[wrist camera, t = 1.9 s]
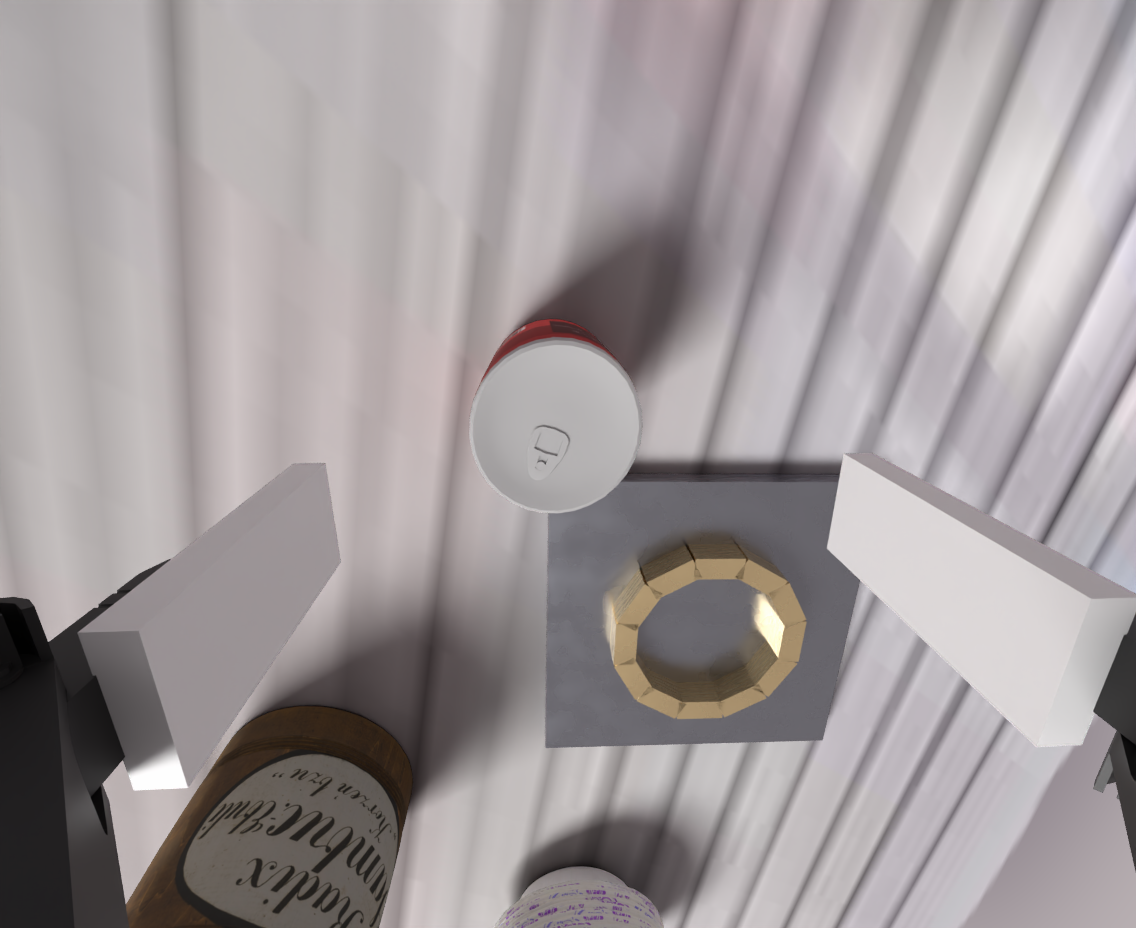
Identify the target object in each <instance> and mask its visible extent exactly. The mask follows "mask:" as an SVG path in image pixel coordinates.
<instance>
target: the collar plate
mask: <svg viewBox="0 0 1136 928" xmlns="http://www.w3.org/2000/svg"><path fill="white" fill-rule="evenodd" d="M839 477H840V474H626V476H625V477H624V478H623V479H622V480H621V482H620V483H619V484H618V485H617V486H616V487H615V488H614V489H613V490H612V491H611V492H609V493H608V494H607V495H606V496H605V497H603V498H602V499H600V500H598V501H596V502H595V503H593V504H591V505H589V506H587V507H584V508H581V509H578V510H575V511H570V512H564V513H548V569H547V641H546V714H545V744H546V748H558V747H594V746H631V745H667V744H703V743H739V742H775V741H811V740H823V736H824V732H825V727H826V723H827V719H828V715H829V710H830V706H831V702H832V698H833V693H834V689H835V685H836V681H837V676H838V672H839V668H840V663H841V659H842V655H843V651H844V646H845V642H846V638H847V634H848V629H849V625H850V621H851V617H852V612H853V608H854V604H855V599H856V595H857V591H858V587H859V582H860V579H858V578H857V577H856V576H855V575H854V574H853V573H852V572H851V571H850V570H849V569H848V568H847V567H846V566H845V565H844V564H843V563H842V562H841V561H839V560H838V559H837V558H836V557H835V556H834V555H833V554H832V553H831V552H830V551H829V550H828V549H827V545H828V539H829V534H830V528H831V522H832V517H833V511H834V506H835V500H836V494H837V489H838V483H839Z"/></svg>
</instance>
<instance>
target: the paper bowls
mask: <svg viewBox="0 0 1136 928" xmlns="http://www.w3.org/2000/svg"><path fill="white" fill-rule="evenodd" d="M494 928H664V926H663V923H662V920H661V917H660V914H659V912H658V910H657V908H656V907H655V906H654V904H652V902H651V901H650V900H649V899H648V898H647V897H646V896H645V895H643V894H641V893H640V892H638V891H636V890H635V889H632V888H629V887H627V886H626V884H625V883H624V882H623V881H622V880H620V879H619V878H618V877H616V876H615V875H613V874H611V873H609V872H607V871H604V870H602V869H598V868H593V867H585V866H578V867H567V868H563V869H559V870H556V871H553V872H550V873H548V874H546V875H544V876H542V877H540V878H539V879H537V880H536V881H535V882H533V883H532V884H531V885H530V886H529V887H528V888H527V889H526V891H525V892H524V893H523V895H522V897H521V898H520V900H519V901H518V902H516V903H515V904H514V905H512V906H511V907H510V908H509V909H508V910H506V911H505V912H504V914H503V915H502V916H501V918H500V919H499V920H498V922H497V923H496V925H495V927H494Z"/></svg>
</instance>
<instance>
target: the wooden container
mask: <svg viewBox="0 0 1136 928" xmlns="http://www.w3.org/2000/svg"><path fill="white" fill-rule="evenodd" d="M412 784H413V778H412V771H411V766H410V763H409V760H408V758H407V756H406V754H405V753H404V751H403V750H402V748H401V747H400V745H399V744H398V743H397V742H396V740H395V739H394V738H393V737H392V736H391V735H390V734H388V733H387V732H386V731H385V730H384V729H382V728H381V727H379V726H378V725H376V724H374V723H373V722H371V721H369V720H368V719H366V718H363V717H361V716H359V715H356V714H353V713H350V712H347V711H343V710H339V709H334V708H329V707H319V706H297V707H289V708H284V709H280V710H276V711H272V712H269V713H267V714H264V715H262V716H260V717H258V718H256V719H254V720H252V721H251V722H249V723H248V724H247V725H245V726H244V727H243V728H241V729H240V730H239V731H238V732H237V733H236V734H235V735H234V736H233V738H232V739H231V740H230V742H229V743H228V745H227V746H226V747H225V749H224V751H223V752H222V754H221V755H220V757H219V758H218V760H217V761H216V763H215V764H214V766H213V767H212V769H211V770H210V772H209V773H208V775H207V777H206V778H205V780H204V781H203V783H202V784H201V785H200V787H199V788H198V790H197V791H196V793H195V794H194V796H193V797H192V799H191V800H190V802H189V804H188V805H187V807H186V808H185V810H184V811H183V813H182V814H181V816H180V817H179V819H178V821H177V822H176V824H175V825H174V827H173V828H172V830H171V832H170V833H169V835H168V836H167V838H166V840H165V841H164V843H163V844H162V846H161V847H160V849H159V851H158V852H157V854H156V856H155V857H154V859H153V861H152V862H151V864H150V866H149V867H148V869H147V871H146V872H145V874H144V876H143V877H142V879H141V881H140V882H139V884H138V886H137V887H136V889H135V891H134V892H133V894H132V896H131V897H130V899H129V901H128V902H127V904H126V910H127V917H128V923H129V928H379V925H380V922H381V918H382V914H383V910H384V907H385V903H386V899H387V895H388V891H389V888H390V884H391V880H392V876H393V871H394V868H395V863H396V859H397V855H398V851H399V847H400V842H401V837H402V831H403V827H404V824H405V819H406V815H407V810H408V806H409V802H410V797H411V792H412Z"/></svg>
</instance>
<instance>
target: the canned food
mask: <svg viewBox="0 0 1136 928" xmlns="http://www.w3.org/2000/svg"><path fill="white" fill-rule="evenodd" d="M642 427H643V425H642V409H641V406H640V402H639V398H638V395H637V391H636V388H635V387H634V385H633V383H632V381H631V379H630V377H629V375H628V373H627V372H626V371H625V369H624V368H623V367H622V366H621V364H620V363H619V362H618V361H617V359H616V358H615V357H614V356H613V355H612V354H611V353H610V352H609V351H608V350H607V349H606V348H605V347H604V346H603V345H602V344H601V343H600V342H599V341H598V340H597V338H596V337H594V336H593V335H592V334H591V333H590V332H588V331H587V330H586V329H585V328H583V327H581V326H579V325H577V324H575V323H572V322H568V321H565V320H558V319H546V320H539V321H535V322H532V323H530V324H527V325H524V326H523V327H521V328H519V329H518V330H516V331H515V332H513V333H512V334H511V335H510V336H509V337H508V338H507V339H506V340H505V341H504V342H503V343H502V345H501V346H500V347H499V349H498V350H497V352H496V353H495V355H494V357H493V359H492V361H491V363H490V365H489V367H488V369H487V371H486V372H485V374H484V376H483V378H482V380H481V383H480V385H479V387H478V389H477V392H476V394H475V397H474V399H473V404H472V408H471V412H470V424H469V438H470V444H471V450H472V454H473V457H474V459H475V462H476V464H477V467H478V469H479V471H480V472H481V474H482V475H483V477H484V478H485V480H486V482H487V483H488V484H489V485H490V486H491V487H492V488H493V489H494V490H495V491H496V492H497V493H498V494H499V495H500V496H502V497H503V498H505V499H506V500H508V501H509V502H511V503H512V504H515V505H517V506H519V507H522V508H524V509H526V510H531V511H535V512H540V513H564V512H570V511H575V510H578V509H581V508H584V507H587V506H589V505H591V504H593V503H595V502H596V501H598V500H600V499H602V498H603V497H605V496H606V495H607V494H608V493H609V492H611V491H612V490H613V489H614V488H615V487H616V486H617V485H618V484H619V483H620V482H621V480H622V479H623V478H624V477H625V476H626V474H627V473H628V471H629V469H630V467H631V466H632V464H633V462H634V460H635V458H636V455H637V452H638V449H639V446H640V442H641V435H642Z"/></svg>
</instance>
